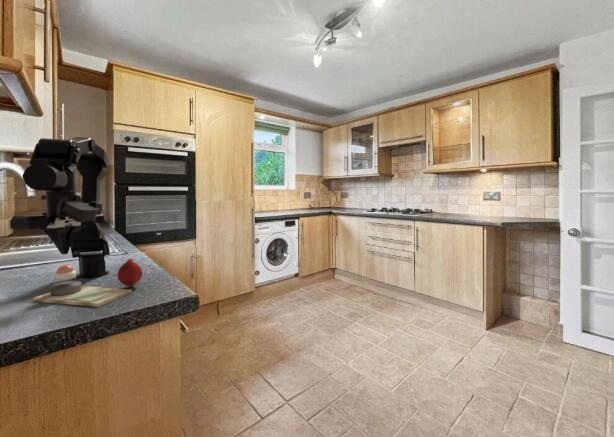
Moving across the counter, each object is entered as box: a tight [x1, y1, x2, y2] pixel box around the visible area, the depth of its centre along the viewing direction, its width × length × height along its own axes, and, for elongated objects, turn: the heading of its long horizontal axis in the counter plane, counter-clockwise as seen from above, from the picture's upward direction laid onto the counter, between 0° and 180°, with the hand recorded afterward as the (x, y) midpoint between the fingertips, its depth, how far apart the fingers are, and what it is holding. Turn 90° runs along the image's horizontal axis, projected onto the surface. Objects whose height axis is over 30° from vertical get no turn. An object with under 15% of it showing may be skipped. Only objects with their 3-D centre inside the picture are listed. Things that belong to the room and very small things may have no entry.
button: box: [53, 264, 77, 281], centre depth 73 cm, size 4×4×3 cm
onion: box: [117, 257, 144, 288], centre depth 80 cm, size 6×6×8 cm
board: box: [32, 280, 133, 308], centre depth 73 cm, size 18×10×3 cm, turn 79°
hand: (64, 254), depth 73 cm, fingers closed
